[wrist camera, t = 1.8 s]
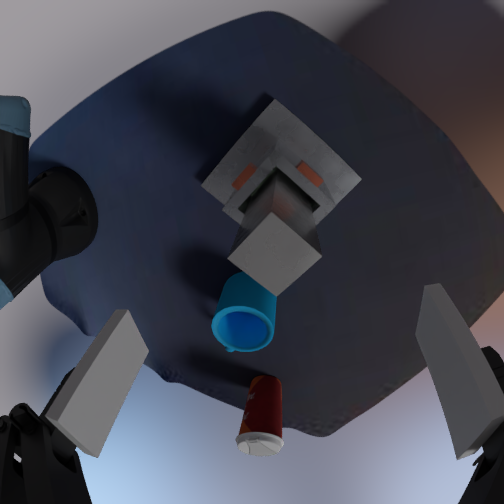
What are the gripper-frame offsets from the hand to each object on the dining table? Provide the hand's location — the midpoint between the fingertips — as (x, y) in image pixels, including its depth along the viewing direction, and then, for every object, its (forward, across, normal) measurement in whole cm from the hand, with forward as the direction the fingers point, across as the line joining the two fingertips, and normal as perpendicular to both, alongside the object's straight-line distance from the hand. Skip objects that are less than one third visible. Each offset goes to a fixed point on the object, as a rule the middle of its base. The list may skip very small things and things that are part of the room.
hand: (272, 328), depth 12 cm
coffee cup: (+27, -8, -39) cm, 48 cm away
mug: (+27, -8, -18) cm, 34 cm away
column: (+25, 0, 0) cm, 25 cm away
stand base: (+27, 0, 0) cm, 27 cm away
